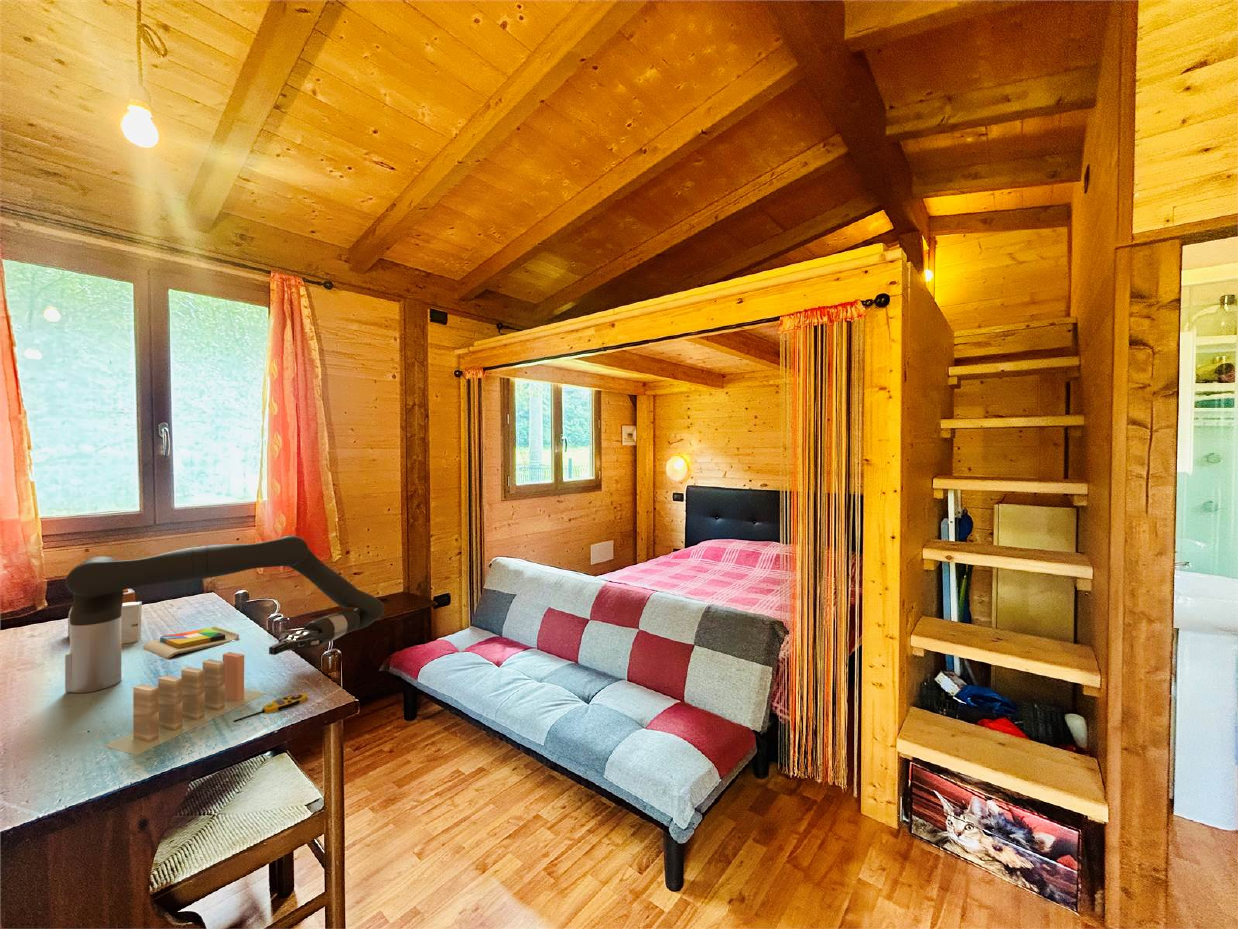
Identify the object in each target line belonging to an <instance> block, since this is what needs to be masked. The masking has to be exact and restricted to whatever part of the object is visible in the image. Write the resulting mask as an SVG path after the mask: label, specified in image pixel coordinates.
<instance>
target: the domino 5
mask: <svg viewBox="0 0 1238 929" xmlns="http://www.w3.org/2000/svg"><path fill="white" fill-rule="evenodd" d="M222 662H225V699H228V700H233V701H237V702H238V701H240V700H242V699H244V689H245V654H243V653H237V652H231V651H229V652H225V653H223V654H222Z"/></svg>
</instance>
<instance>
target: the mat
mask: <svg viewBox="0 0 1238 929" xmlns="http://www.w3.org/2000/svg"><path fill="white" fill-rule="evenodd" d="M264 695H266V692H261V691H255V690H251V689H245V688H244V699H242V700H240V701H238V702H237V701H233V700H228V699H225V708H223V709H221V710H219V711H216V710H212V709H207V708H204V718H201V719H199V720H197V721H196V720H192V719H188V718H183V717H182V728H180V729H178V730H176V731H172V730H167V729H163V728H159V738H158V739H156V740H154V741H152V742H150V743H149V742H146V741H142V740H138V739H134V738H133V732H132V733H129V734H128V735H127V734H126V735H125V736H123V737H121V738H118V739H116V740H113V741H112V742H111V741H110V743H109V742H108V743H107V744H105V745H103V747H105V748H108V749H111V750H116V751H119V752H123V753H128V754H132V755H135V756H138V755H141V754H142V753H144V752H146V751H148V750H150V749H153V748H155V747H157V746H159V745H160V744H163V743H165V742H167V741H169V740H172V739H174V738H176V737H177V736H180V735H183V734H184V733H186V732H188V731H190V730H192V729H194V728H197V727H199V726H201V725H203V724H205V723H208V722H209V721H212V720H213V719H215V718H217V717H219V716H221V715H225V714H227V713H229V712H231V711H233V710H235V709H237V708H238V707H241V706H243V705H245V704H247V703H249V702H252V701H253V700H255V699H258V698H259V697H262V696H264Z"/></svg>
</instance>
